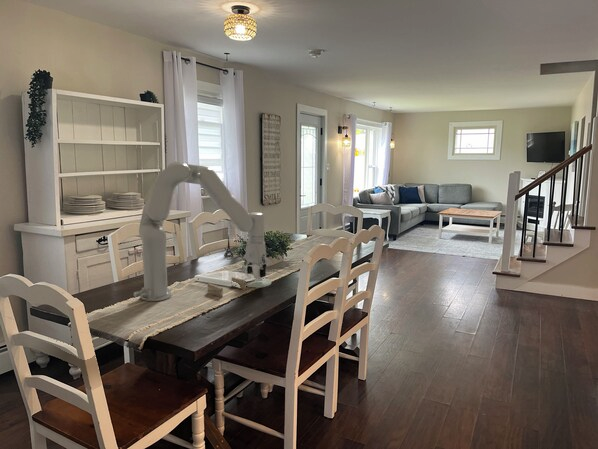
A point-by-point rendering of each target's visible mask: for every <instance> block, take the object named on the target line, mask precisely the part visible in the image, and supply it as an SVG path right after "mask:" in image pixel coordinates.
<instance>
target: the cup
mask: <svg viewBox="0 0 598 449" xmlns="http://www.w3.org/2000/svg"><path fill="white" fill-rule="evenodd" d="M251 264H252V265H246V266H245V270H244V271H245V275H246V277H248V279H249V278H251V279H252V280H255V281H262V280H263V278H264V277H260V269H261V268H260V265H259V264H254V263H251ZM263 265H264V264H262V266H263ZM248 266H251V267H252V270H253V273H252V275H253V277H251V276H250V275H249V274H248V273H247V267H248ZM253 278H255V279H253Z"/></svg>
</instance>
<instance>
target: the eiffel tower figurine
mask: <svg viewBox="0 0 598 449" xmlns="http://www.w3.org/2000/svg"><path fill="white" fill-rule="evenodd" d="M236 254H237V253H233V252H232V250H231V246H230V236H229V234H227V248H226V250H225V253H224V254H223V257H225V258H226V260H228V261H229V260H231V259H232V260H233V259H234V258H236V257H238V256H237V255H236Z"/></svg>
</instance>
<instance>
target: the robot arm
mask: <svg viewBox="0 0 598 449" xmlns="http://www.w3.org/2000/svg"><path fill="white" fill-rule="evenodd" d="M181 183H187V184H194V185H199V186H200V187H201V188H202V189H203V191H204V192H205V193H206V194H207V196H208V197H209V198H210V199H211V201H212V202H213V203H214V205H215V206H217V207H218V208H219V209H220V210H222V211H223V213H225V214H226V215H227V216H228V217H229V218H230V219H229V223H230V225H231V226H232V227H233V228H234V229H236V230H238V231H240V232H244V233H246V232H247V241H246V245H245V246H246V247H245V254H244V255H243V258H244V261H245V263H246V267H247V266H248V265H252V264H251V263H254V264H259V265H260V268H261V269H260V277H263V278H265V277H266V276H267V274H266V273H267V272H266V271H267V270H266V269H267V268H268V267H269V264H270V261H271V260H269V259H268V258H267V248H266V242H265V215H264V213H262V212H257V211H256V212H250V213H249V212H248V211H247V210H246V209H245V207H244V206H243V205H242V204H241V203H240V201H238V199H237V198H236V197H235V196H234V195H233V194H232V193H231V191H230V190H229V189H228V187H227V186H226V185H225V184H224V182H223V181H222V179H221V178H220V176H219V175H218V174H217V173H216V172H215V170H214V169H212V168H211V167H208V166H205V165H197V164H191V163H187V162H180V161H172V162H170V163H169V164H168V165H167V167H166V168H164V169H162V171H160V172H159V174H158V175H157V176H156V178H155V180H154V183H153V186H152V191H151V194H150V197H149V199H147V200H146V201H145V203H144V205H143V207H142V211H141V217H140V223H139V229H138V235H139V237H140V239H141V242H142V263H143V264H142V265H143V266H142V267H143V285H144V286H143V287H141V289H140V291H135V292H133V297H134V298H136V297H139V298H141V300H144V301H146V302H158V301H165V300H167V299H169V298H171V297H172V291H170V290H168V289H169V288H168V273H167V272H168V270H167V269H168V266H167V234H166V231H165V229H164V228H163V224H164V222H165V221H166V220H167V219H168V218H169V216H170V213H171V212H170V211H171V205H172V200H173V195H174V193H175V192H174V191H175V190H176V188H177V186H178V185H179V184H181ZM262 264H264V265H263V266H262ZM246 272H247V274H248V275H249V274H253V270H252V267H251V266H248V267H247V269H246Z"/></svg>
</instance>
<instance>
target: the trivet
mask: <svg viewBox="0 0 598 449" xmlns="http://www.w3.org/2000/svg"><path fill="white" fill-rule="evenodd" d="M263 278H264V279H263V280H262V281H256V282H252V283H249V284H246V286H247V287H246V288H250V287H256V288H255V289H259V288H266V287H269V286H271V285H272V280H271V279H270V278H269V279H268V278H265V277H263Z"/></svg>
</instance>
